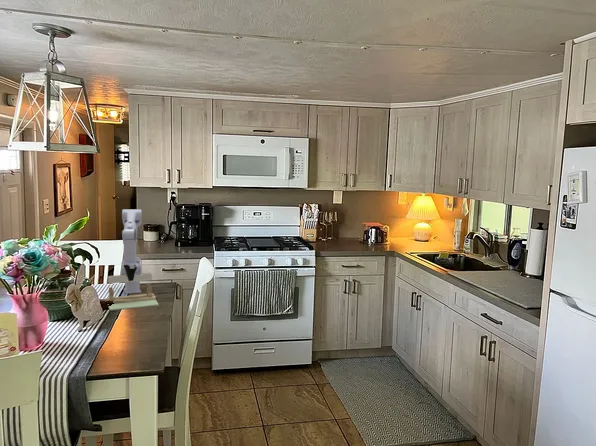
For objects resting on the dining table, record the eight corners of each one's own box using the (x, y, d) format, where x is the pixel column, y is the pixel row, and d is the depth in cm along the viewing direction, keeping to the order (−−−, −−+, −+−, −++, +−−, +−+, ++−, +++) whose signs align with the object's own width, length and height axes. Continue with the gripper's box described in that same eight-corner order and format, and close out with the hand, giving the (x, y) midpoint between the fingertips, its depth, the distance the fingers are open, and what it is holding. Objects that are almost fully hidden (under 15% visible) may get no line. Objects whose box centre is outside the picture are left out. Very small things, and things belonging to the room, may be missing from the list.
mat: (108, 305, 228) (108, 304, 228) (155, 300, 237) (155, 299, 237) (109, 310, 221) (109, 309, 220) (158, 305, 230) (158, 304, 230)
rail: (109, 283, 231) (108, 277, 230) (108, 282, 233) (108, 276, 233) (151, 279, 240) (151, 274, 239) (150, 278, 242) (150, 272, 242)
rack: (105, 300, 236) (104, 287, 235) (153, 295, 246) (153, 283, 245) (106, 304, 230) (106, 291, 229) (155, 299, 240) (155, 286, 239)
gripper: (119, 250, 239) (120, 277, 241) (123, 256, 226) (123, 284, 228) (134, 249, 242) (134, 275, 244) (138, 255, 230) (139, 282, 231)
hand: (130, 279), depth 237 cm, fingers closed on rail, 3 cm apart
